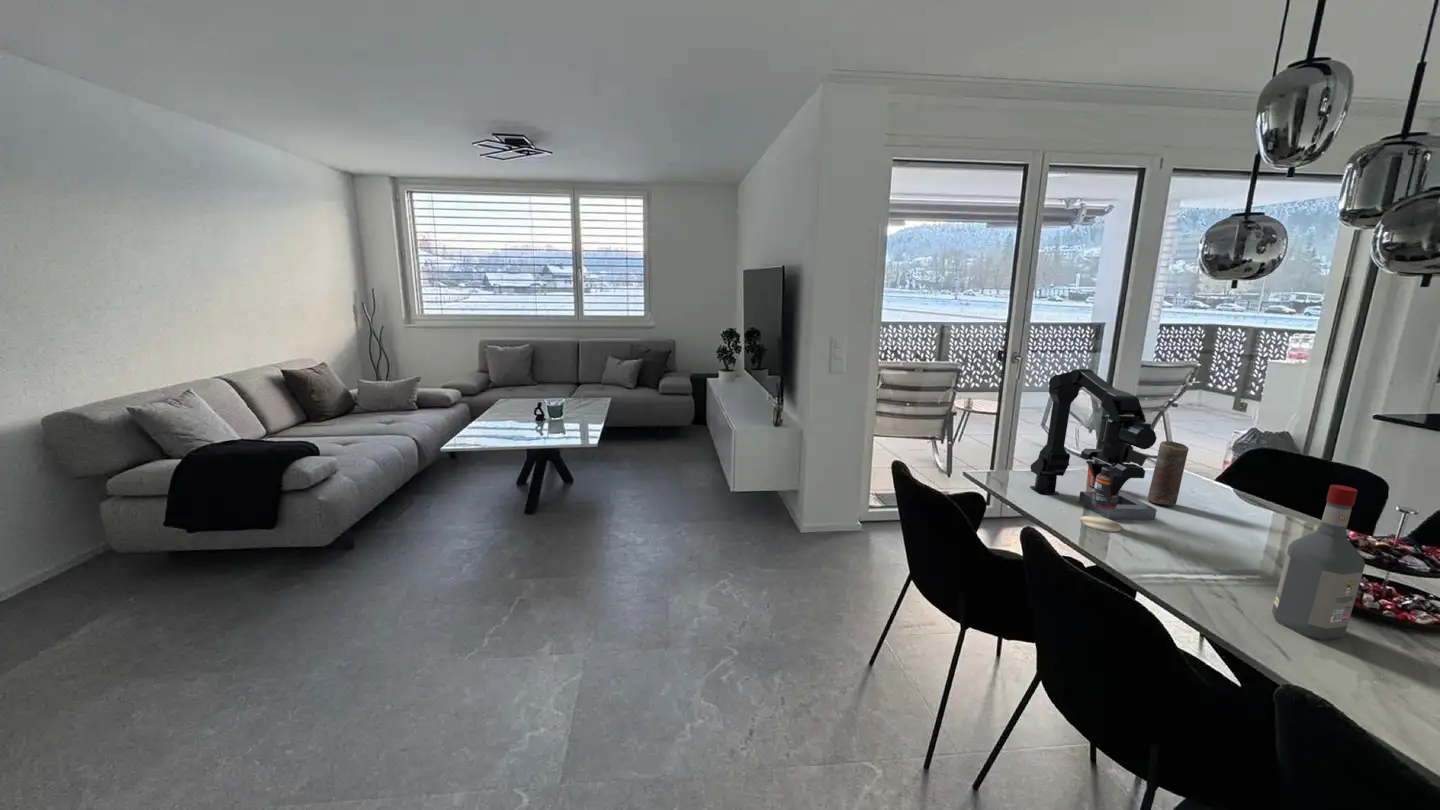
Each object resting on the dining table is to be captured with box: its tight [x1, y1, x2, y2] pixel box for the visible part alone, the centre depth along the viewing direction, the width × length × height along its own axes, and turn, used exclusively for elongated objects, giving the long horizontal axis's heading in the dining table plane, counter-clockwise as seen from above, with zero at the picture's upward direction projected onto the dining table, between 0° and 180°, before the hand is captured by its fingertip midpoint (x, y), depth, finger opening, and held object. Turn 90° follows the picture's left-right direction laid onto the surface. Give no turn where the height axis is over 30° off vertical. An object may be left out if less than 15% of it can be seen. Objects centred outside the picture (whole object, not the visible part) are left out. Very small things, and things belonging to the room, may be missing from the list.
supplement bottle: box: [1092, 467, 1120, 509], centre depth 163 cm, size 6×6×11 cm
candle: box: [1146, 440, 1189, 507], centre depth 181 cm, size 8×7×20 cm
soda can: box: [1085, 465, 1114, 489], centre depth 197 cm, size 7×7×12 cm
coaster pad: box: [1079, 515, 1123, 533], centre depth 165 cm, size 10×10×1 cm
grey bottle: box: [1271, 484, 1366, 641], centre depth 114 cm, size 9×9×30 cm
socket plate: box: [1078, 491, 1157, 521], centre depth 176 cm, size 14×14×4 cm
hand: (1106, 491), depth 163 cm, fingers closed on supplement bottle, 6 cm apart
